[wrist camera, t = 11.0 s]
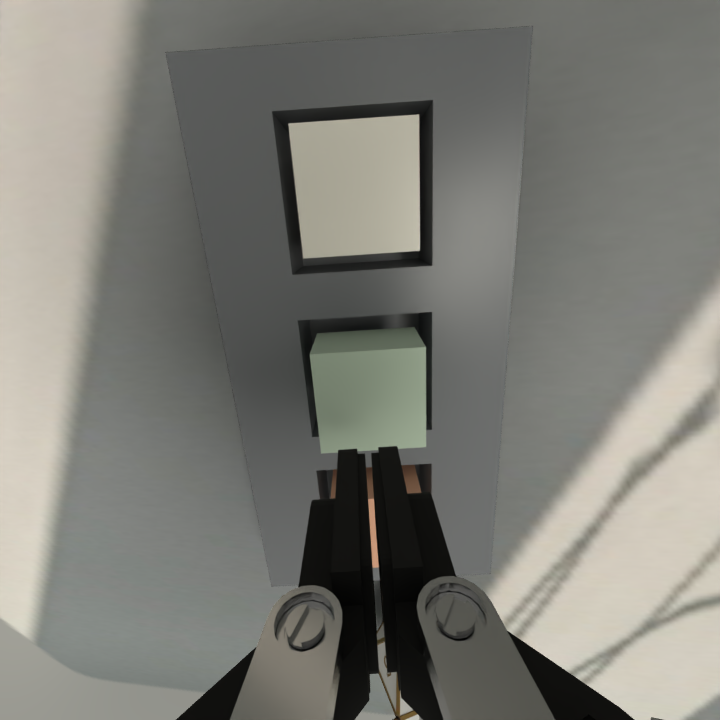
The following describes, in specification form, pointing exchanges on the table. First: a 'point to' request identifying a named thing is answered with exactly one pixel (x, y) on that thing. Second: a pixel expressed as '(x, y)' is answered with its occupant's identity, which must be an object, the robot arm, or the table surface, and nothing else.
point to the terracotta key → (411, 487)
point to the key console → (362, 258)
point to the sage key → (370, 389)
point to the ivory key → (357, 185)
